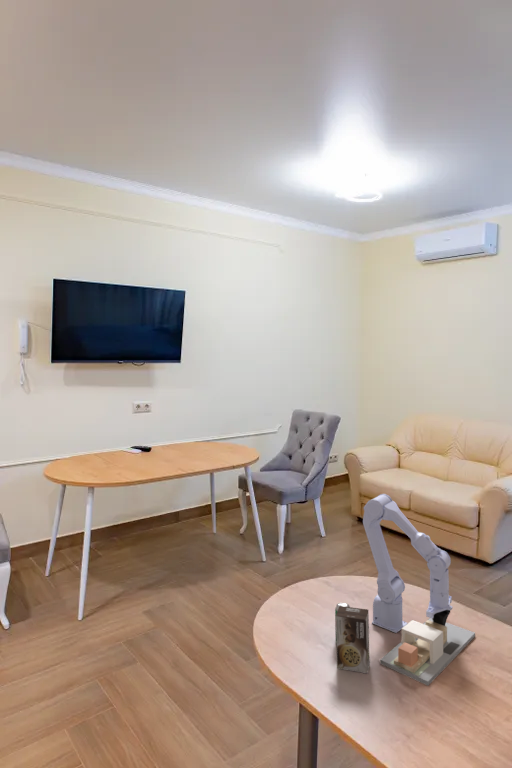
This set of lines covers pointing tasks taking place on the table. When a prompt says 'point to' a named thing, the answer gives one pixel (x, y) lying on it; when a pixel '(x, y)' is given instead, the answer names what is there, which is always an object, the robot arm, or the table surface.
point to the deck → (428, 671)
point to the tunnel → (424, 638)
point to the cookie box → (352, 639)
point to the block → (408, 654)
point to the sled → (423, 648)
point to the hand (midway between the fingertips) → (439, 631)
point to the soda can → (336, 612)
